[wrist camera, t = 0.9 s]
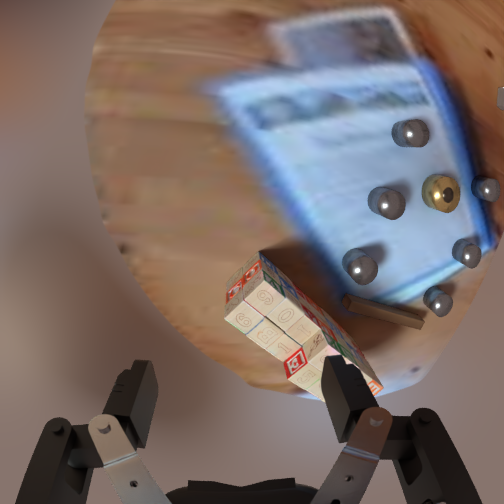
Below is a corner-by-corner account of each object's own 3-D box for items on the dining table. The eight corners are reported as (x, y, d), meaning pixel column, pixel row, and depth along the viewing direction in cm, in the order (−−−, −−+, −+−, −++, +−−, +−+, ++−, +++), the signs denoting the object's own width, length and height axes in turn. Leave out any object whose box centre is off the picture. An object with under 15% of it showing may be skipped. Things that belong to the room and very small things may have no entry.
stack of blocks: (224, 282, 39) (222, 334, 28) (258, 249, 38) (269, 291, 26) (324, 363, 45) (347, 418, 33) (354, 338, 44) (385, 389, 32)
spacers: (395, 116, 33) (411, 114, 30) (489, 184, 37) (505, 188, 33) (335, 275, 40) (344, 287, 36) (438, 309, 43) (450, 320, 39)
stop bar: (345, 293, 41) (352, 301, 38) (417, 314, 43) (424, 321, 41) (341, 302, 41) (347, 310, 39) (413, 322, 43) (420, 329, 41)
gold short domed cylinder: (427, 168, 36) (442, 170, 32) (449, 183, 37) (464, 186, 33) (416, 200, 37) (430, 204, 34) (439, 213, 38) (453, 218, 35)
